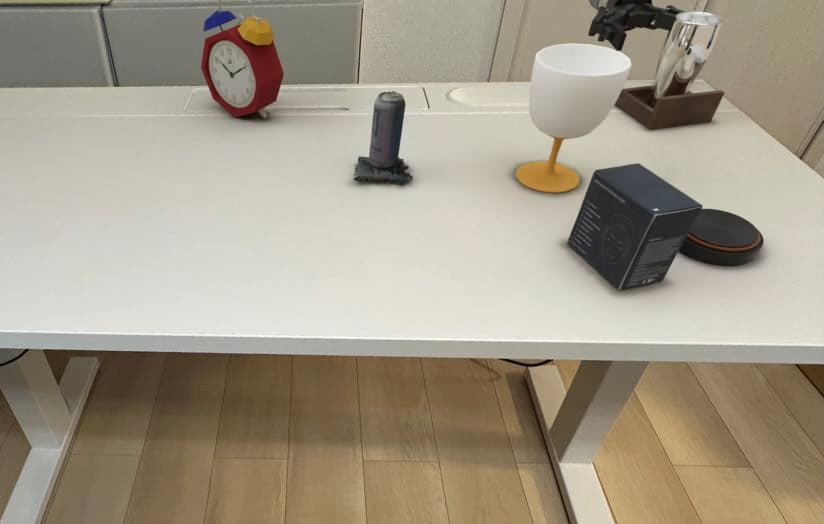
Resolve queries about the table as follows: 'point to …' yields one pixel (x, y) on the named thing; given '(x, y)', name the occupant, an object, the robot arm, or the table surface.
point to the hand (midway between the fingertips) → (663, 42)
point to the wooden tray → (669, 107)
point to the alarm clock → (241, 64)
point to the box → (632, 225)
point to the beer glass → (684, 53)
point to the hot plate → (722, 239)
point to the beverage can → (385, 142)
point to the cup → (570, 103)
